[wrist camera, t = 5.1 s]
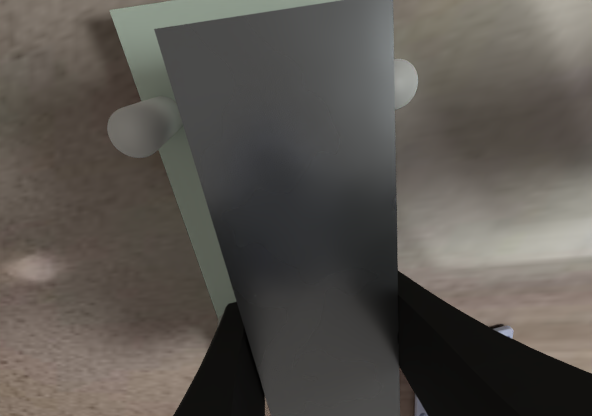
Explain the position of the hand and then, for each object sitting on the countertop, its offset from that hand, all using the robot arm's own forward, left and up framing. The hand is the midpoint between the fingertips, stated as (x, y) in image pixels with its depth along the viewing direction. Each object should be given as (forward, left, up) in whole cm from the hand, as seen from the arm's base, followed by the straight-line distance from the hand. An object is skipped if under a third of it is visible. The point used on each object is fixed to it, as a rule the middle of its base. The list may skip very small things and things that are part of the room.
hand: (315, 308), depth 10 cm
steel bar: (0, 0, -3) cm, 3 cm away
